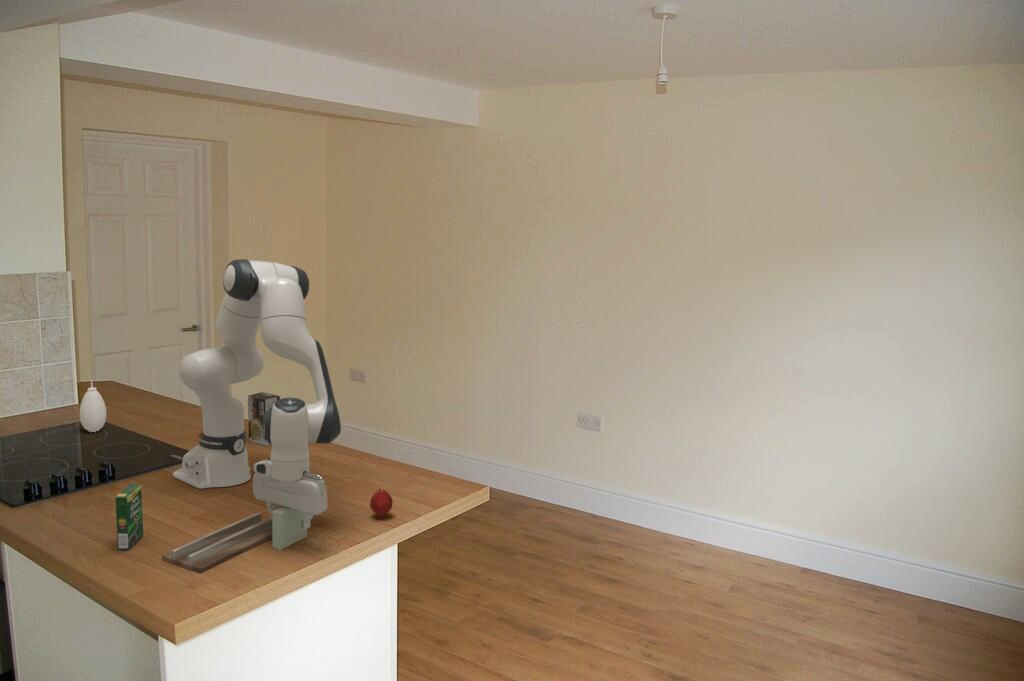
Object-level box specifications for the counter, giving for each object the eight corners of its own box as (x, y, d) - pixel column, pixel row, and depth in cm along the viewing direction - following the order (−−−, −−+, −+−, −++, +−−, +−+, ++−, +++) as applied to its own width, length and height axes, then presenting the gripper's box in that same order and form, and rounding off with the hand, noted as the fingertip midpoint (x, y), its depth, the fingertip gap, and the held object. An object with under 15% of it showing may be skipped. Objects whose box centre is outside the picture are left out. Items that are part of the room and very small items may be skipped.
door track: (162, 560, 169) (161, 547, 168) (249, 520, 192) (249, 509, 191) (200, 573, 163) (200, 560, 163) (286, 531, 186) (286, 519, 186)
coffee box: (281, 442, 257) (280, 395, 254) (265, 446, 251) (265, 399, 249) (263, 437, 261) (262, 391, 259) (247, 441, 256) (247, 394, 253)
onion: (371, 512, 201) (371, 483, 199) (393, 512, 201) (393, 483, 200) (368, 520, 195) (369, 491, 194) (391, 521, 196) (392, 491, 194)
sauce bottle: (98, 435, 255) (96, 383, 252) (75, 434, 255) (73, 382, 252) (111, 429, 262) (109, 378, 259) (89, 428, 262) (86, 377, 259)
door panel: (272, 547, 177) (272, 511, 176) (299, 534, 185) (299, 499, 184) (280, 550, 176) (280, 513, 175) (307, 536, 184) (307, 501, 183)
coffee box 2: (129, 551, 172) (127, 496, 170) (116, 551, 172) (114, 496, 170) (144, 536, 180) (142, 483, 178) (132, 536, 180) (130, 483, 178)
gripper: (333, 472, 176) (333, 528, 178) (267, 456, 185) (267, 510, 187) (315, 480, 170) (315, 538, 173) (248, 463, 179) (248, 518, 182)
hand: (290, 523), depth 180 cm, fingers open, 8 cm apart
